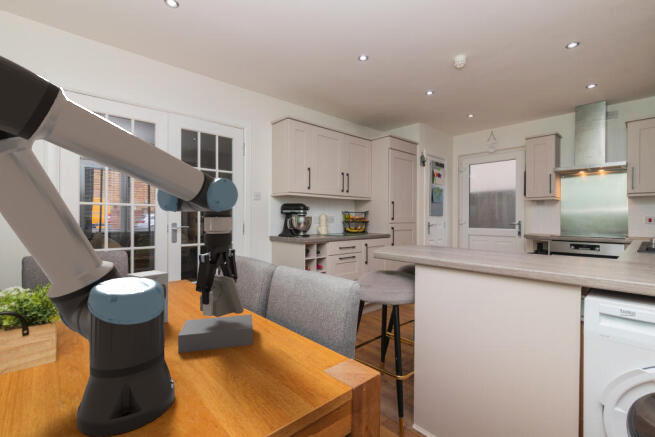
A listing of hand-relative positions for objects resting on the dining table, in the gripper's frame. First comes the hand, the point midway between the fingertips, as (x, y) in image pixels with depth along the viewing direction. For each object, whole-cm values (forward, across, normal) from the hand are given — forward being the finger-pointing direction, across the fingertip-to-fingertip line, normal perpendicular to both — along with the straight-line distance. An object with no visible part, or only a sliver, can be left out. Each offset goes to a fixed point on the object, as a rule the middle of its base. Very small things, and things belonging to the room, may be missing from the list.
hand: (218, 309), depth 87 cm
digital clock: (+1, 0, 0) cm, 1 cm away
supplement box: (+9, -5, -31) cm, 33 cm away
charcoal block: (+9, 0, 0) cm, 9 cm away
